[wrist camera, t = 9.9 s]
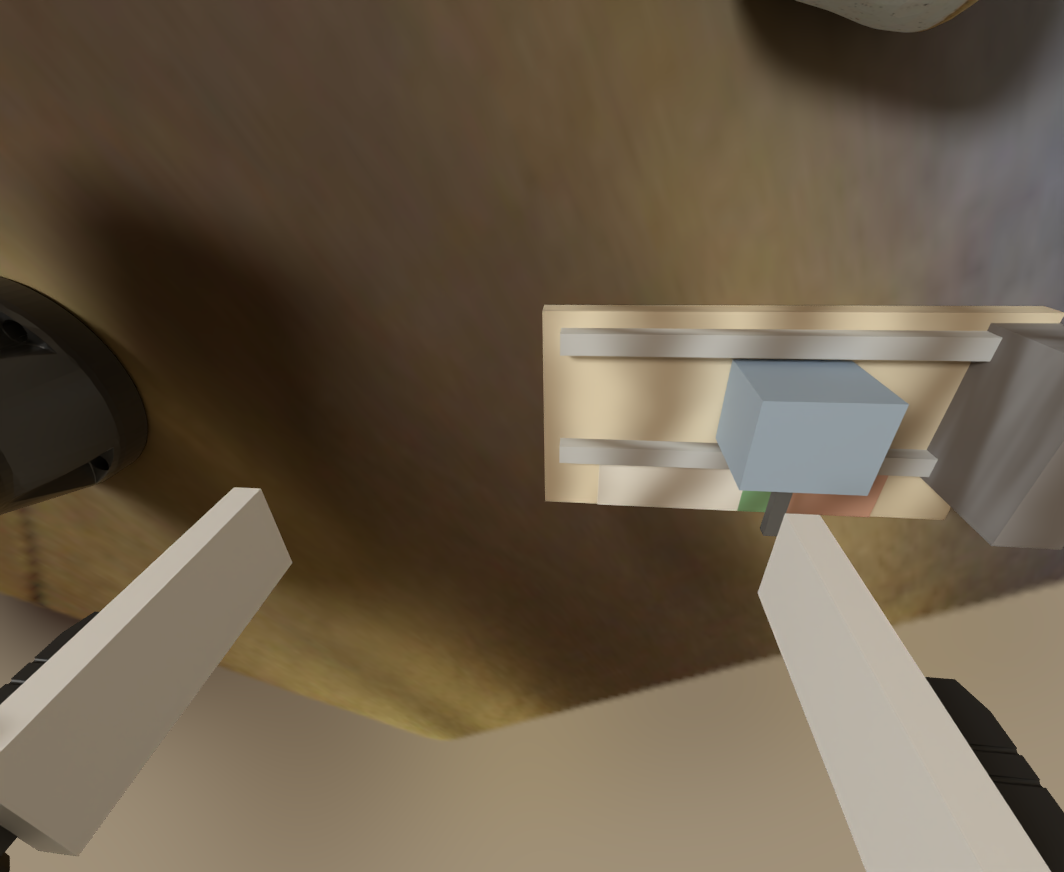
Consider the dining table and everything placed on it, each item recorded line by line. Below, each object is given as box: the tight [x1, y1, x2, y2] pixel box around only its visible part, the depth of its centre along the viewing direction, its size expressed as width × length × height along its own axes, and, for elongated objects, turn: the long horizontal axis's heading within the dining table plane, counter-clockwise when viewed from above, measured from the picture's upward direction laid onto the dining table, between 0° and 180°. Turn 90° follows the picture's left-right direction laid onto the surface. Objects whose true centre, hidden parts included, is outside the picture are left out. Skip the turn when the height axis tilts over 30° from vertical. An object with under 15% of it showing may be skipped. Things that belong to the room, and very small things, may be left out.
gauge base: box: [543, 305, 1064, 550], centre depth 24 cm, size 25×13×7 cm, turn 91°
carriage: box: [716, 359, 909, 536], centre depth 24 cm, size 6×9×5 cm, turn 1°
